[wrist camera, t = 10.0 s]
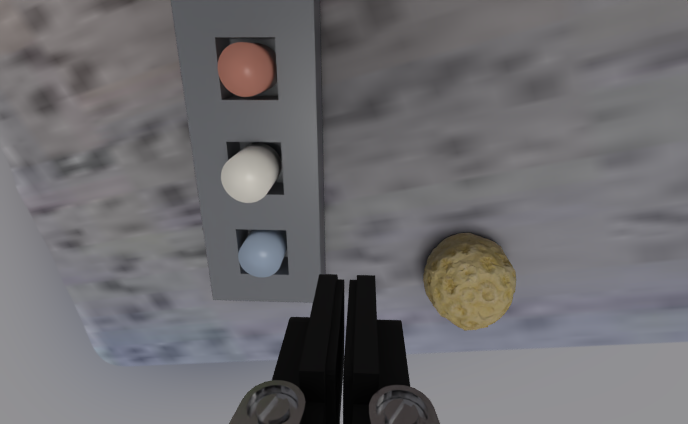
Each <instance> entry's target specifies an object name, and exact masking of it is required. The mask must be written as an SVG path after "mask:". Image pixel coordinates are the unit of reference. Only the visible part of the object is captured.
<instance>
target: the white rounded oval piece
mask: <svg viewBox="0 0 688 424" xmlns="http://www.w3.org/2000/svg"><path fill="white" fill-rule="evenodd" d="M281 168H282V165H281V160H280V157H279V155H278V154H277V152H276V151H275V150H274V149H273V148H272V147H270V146H268V145H266V144H263V143H252V144H249V145H247V146H246V147H244V148H243V149H242V150H241V151H239V152H238V153H237V154H236V155H234V156H233V157H232V158H230V159H229V160H228V161H227V162H226V163H225V165H224V166H223V168H222V172H221V181H222V185H223V187H224V189H225V191H226V192H227V193H228V194H229V195H230V196H231V197H232V198H234V199H235V200H237V201H240V202H244V203H253V202H257V201H259V200H261V199H262V198H263V197H265V195H266V194H267V193H268V191H269V190H270V188H271V187H272V186H273V184H274V183H275V181H276V180H277V178H278V177H279V175H280V173H281Z"/></svg>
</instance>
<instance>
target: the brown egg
mask: <svg viewBox="0 0 688 424" xmlns="http://www.w3.org/2000/svg"><path fill="white" fill-rule="evenodd" d="M218 74H219V77H220V80H221V82H222V83H223V85H224V86H225V87H226V88H227V89H228V90H229V91H230V92H231V93H233V94H235V95H238V96H241V97H250V96H254V95H256V94H259V93H261V92H264V91H267V90H269V89H271V88H272V87H273V86H274V85H275V84H276V83H277V65H276V54H275V52H274V51H273V50H272V49H271V48H269V47H268V46H266V45H263V44H260V43H247V42H236V43H233V44H231V45H229V46H227V47H226V48H225V49H224V50H223V51H222V53H221V55H220V57H219V60H218Z"/></svg>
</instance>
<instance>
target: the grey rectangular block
mask: <svg viewBox="0 0 688 424" xmlns="http://www.w3.org/2000/svg"><path fill="white" fill-rule="evenodd" d="M171 6H172V13H173V20H174V27H175V34H176V41H177V49H178V56H179V63H180V70H181V77H182V84H183V91H184V98H185V105H186V112H187V119H188V126H189V133H190V140H191V147H192V155H193V162H194V169H195V176H196V183H197V190H198V197H199V204H200V211H201V218H202V225H203V232H204V239H205V246H206V253H207V260H208V268H209V275H210V282H211V289H212V296H213V300H233V301H269V302H305V303H313V301H314V296H315V291H316V286H317V282H318V277H319V274H326V270H325V222H324V173H323V125H322V77H321V28H320V0H171ZM236 42H247V43H260V44H263V45H266V46H268V47H269V48H271V49H272V50H273V51H274V52H275V54H276V65H277V83H276V84H275V85H274V86H273V87H272V88H271V89H269V90H267V91H264V92H261V93H259V94H256V95H254V96H250V97H241V96H238V95H235V94H233V93H231V92H230V91H229V90H228V89H227V88H226V87H225V86H224V85H223V83H222V82H221V80H220V77H219V74H218V60H219V57H220V55H221V53H222V51H223V50H224V49H225V48H226V47H227V46H229V45H231V44H233V43H236ZM252 143H263V144H266V145H268V146H270V147H272V148H273V149H274V150H275V151H276V152H277V154H278V155H279V157H280V160H281V165H282V168H281V173H280V175H279V177H278V178H277V180H276V181H275V183H274V184H273V186H272V187H271V188H270V190H269V191H268V193H267V194H266V195H265V197H263V198H262V199H261V200H259V201H257V202H253V203H244V202H240V201H237V200H235V199H234V198H232V197H231V196H230V195H229V194H228V193H227V192H226V191H225V189H224V187H223V185H222V181H221V172H222V168H223V166H224V165H225V163H226V162H227V161H228V160H229V159H230V158H232V157H233V156H234V155H236V154H237V153H238V152H239V151H241V150H242V149H243V148H244V147H246V146H247V145H249V144H252ZM252 230H286V235H287V250H286V253H285V255H284V258H283V260H282V263H281V265H280V268H279V269H278V271H277V272H276V273H275V274H273V275H271V276H269V277H255V276H252V275H250V274H249V273H247V272H246V271H245V270H244V269H243V268H242V267H241V265H240V263H239V259H238V253H239V250H240V248H241V246H242V245H243V243H244V242H245V240H246V238H247V237H248V235H249V234H250V232H251V231H252Z"/></svg>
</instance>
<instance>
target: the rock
mask: <svg viewBox="0 0 688 424" xmlns="http://www.w3.org/2000/svg"><path fill="white" fill-rule="evenodd" d="M428 257H429V258H428V259H427V264H426V266H425V269H424V271H425V272H424V274H423V276H424V277H423V281H424V287H425V291H426V294H427V296H428V298H429V300H430V301H431V302H432V304H433V306H434V307H435V308H436V310H437V311H438V313H439V314H440V315H441V316H442V317H445V318H447V319H448V320H449V321H451V322H452V323H453V324H455V325H456V326H458V327H459V328H462V329H464V330H465V331H466V330H477V329H479V328H485V327H488V325H490V324H493V323H495V322H496V321H497V320H499V319H500V318H501V317H502V316H503V315H504V314H505V313H506V311H507V310H508V309H509V306H510V305H511V303H512V299H513V293H514V292H515V287H516V273H515V270H514V269H513V267H512V265H511V263H510V262H509V260H508V259H507V257H506V255H505V254H504V252H503V250H502V248H501V246H499V245H498V244H496V243H495V242H493V241H491V240H489V239H486V238H482V237H481V236H477V235H474V234H472V233H458V234H456V235H453V236H450V237H448V238H446V239H444V240H443V241H442V242H441V243H440V244H438V246H437V247H436V248H434V249H433V250H432V253H431V254H430V256H428Z"/></svg>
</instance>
